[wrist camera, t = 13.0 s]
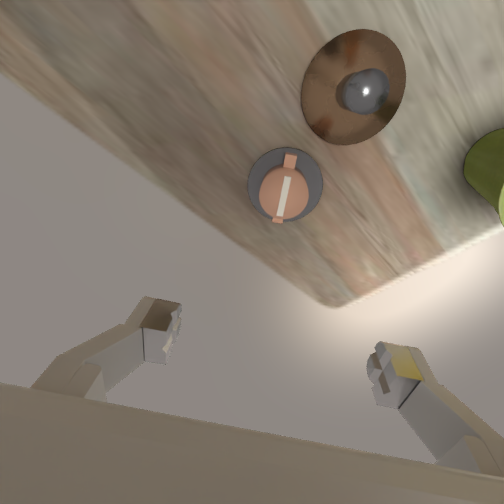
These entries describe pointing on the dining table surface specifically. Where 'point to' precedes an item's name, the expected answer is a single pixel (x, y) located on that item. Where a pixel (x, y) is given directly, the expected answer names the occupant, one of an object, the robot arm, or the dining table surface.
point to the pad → (302, 163)
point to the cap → (284, 190)
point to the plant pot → (488, 169)
